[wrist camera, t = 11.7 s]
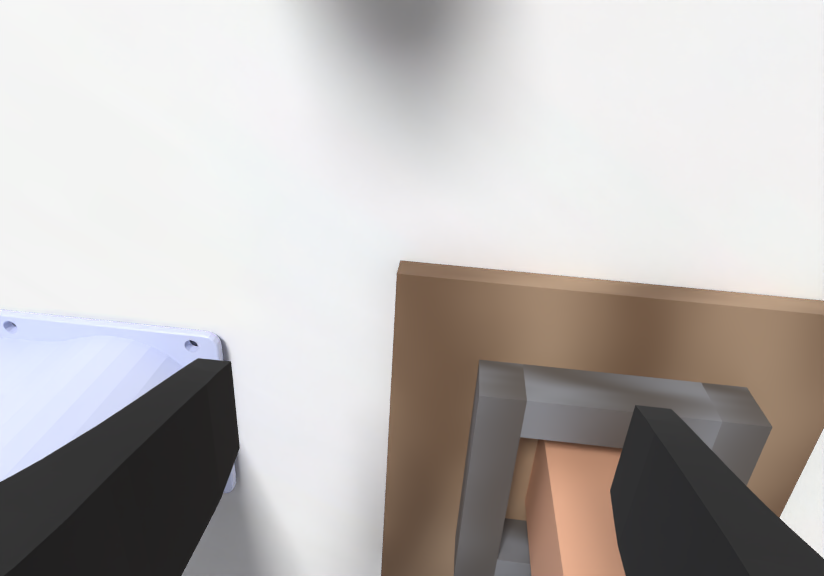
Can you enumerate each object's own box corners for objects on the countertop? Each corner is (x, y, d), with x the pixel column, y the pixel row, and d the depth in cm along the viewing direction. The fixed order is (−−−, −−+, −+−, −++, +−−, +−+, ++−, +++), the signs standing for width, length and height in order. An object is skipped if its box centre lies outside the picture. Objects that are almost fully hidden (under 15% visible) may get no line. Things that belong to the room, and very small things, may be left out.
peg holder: (384, 556, 27) (374, 619, 25) (400, 260, 20) (388, 303, 18) (720, 598, 26) (747, 667, 24) (859, 304, 19) (919, 356, 17)
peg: (524, 501, 24) (544, 726, 17) (541, 422, 22) (572, 639, 15) (627, 513, 23) (692, 747, 16) (654, 435, 21) (740, 661, 14)
